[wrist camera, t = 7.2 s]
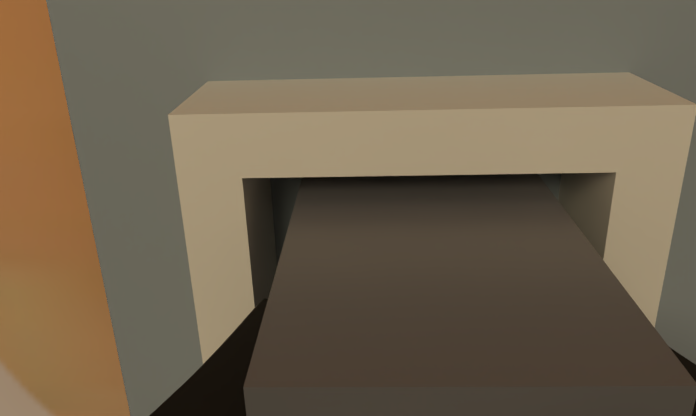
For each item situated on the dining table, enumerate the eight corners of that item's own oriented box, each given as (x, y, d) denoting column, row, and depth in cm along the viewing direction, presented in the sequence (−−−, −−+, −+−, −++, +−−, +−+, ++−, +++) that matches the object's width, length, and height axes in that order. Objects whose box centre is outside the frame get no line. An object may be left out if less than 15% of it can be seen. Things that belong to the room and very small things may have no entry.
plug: (530, 164, 11) (698, 385, 5) (513, 353, 12) (630, 675, 7) (304, 168, 11) (243, 387, 6) (315, 354, 13) (274, 671, 7)
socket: (792, -129, 11) (976, -163, 7) (657, 481, 16) (730, 616, 13) (52, -105, 11) (-77, -128, 8) (162, 480, 17) (112, 609, 13)
